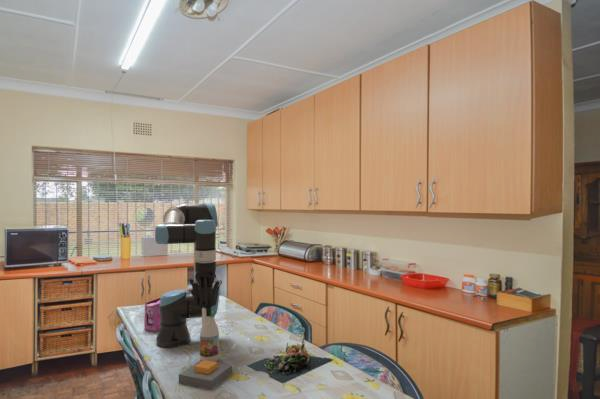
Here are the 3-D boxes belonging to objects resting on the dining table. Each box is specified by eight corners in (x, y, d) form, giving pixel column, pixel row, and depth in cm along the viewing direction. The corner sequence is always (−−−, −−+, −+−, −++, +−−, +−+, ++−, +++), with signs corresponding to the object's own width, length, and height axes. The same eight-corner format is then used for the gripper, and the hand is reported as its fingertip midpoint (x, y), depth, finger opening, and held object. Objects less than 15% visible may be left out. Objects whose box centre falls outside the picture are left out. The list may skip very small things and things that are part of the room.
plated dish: (294, 344, 185) (294, 328, 185) (344, 361, 166) (344, 344, 165) (234, 369, 159) (234, 350, 159) (283, 393, 140) (283, 372, 140)
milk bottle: (201, 356, 169) (201, 309, 169) (220, 356, 169) (219, 309, 169) (198, 364, 161) (198, 314, 161) (217, 363, 162) (217, 314, 161)
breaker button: (194, 372, 147) (194, 366, 147) (204, 366, 153) (204, 359, 153) (208, 375, 145) (208, 368, 145) (217, 368, 151) (217, 362, 151)
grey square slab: (178, 382, 145) (178, 374, 145) (201, 367, 158) (201, 359, 158) (211, 389, 140) (211, 380, 140) (232, 372, 153) (232, 364, 153)
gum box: (154, 332, 200) (154, 305, 200) (142, 330, 203) (141, 303, 203) (184, 318, 223) (184, 294, 222) (172, 317, 225) (172, 293, 225)
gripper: (184, 261, 148) (185, 325, 148) (214, 263, 143) (215, 329, 143) (196, 259, 155) (197, 320, 155) (226, 260, 150) (226, 323, 150)
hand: (205, 324), depth 149 cm, fingers closed
